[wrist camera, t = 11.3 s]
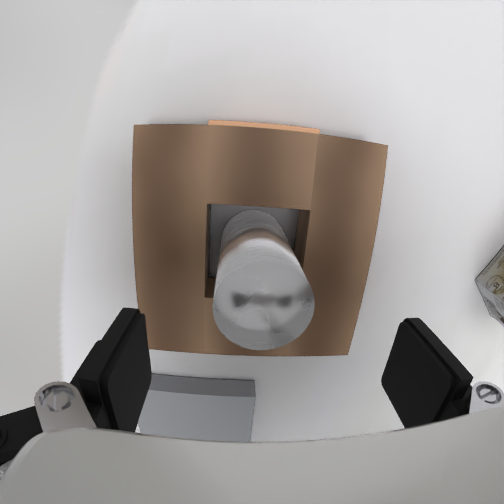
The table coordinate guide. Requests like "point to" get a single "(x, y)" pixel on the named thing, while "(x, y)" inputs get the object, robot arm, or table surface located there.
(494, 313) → the coffee box
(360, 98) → the table surface
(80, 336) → the table surface
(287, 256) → the peg
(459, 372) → the robot arm
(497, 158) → the table surface
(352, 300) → the hole board
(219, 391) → the pad
